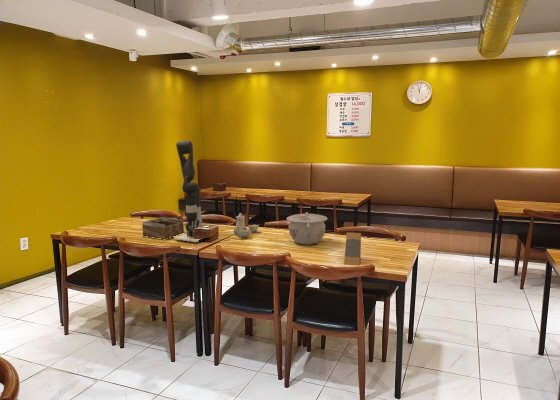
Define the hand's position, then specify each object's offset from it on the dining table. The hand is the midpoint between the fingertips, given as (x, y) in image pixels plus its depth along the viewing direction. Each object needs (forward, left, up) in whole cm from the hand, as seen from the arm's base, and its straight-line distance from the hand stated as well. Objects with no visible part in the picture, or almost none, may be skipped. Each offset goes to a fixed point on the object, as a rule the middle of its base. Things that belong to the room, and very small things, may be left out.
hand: (192, 235), depth 287 cm
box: (0, -28, -3) cm, 28 cm away
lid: (0, 0, -2) cm, 2 cm away
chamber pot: (-30, +74, -3) cm, 80 cm away
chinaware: (-29, +24, -4) cm, 38 cm away
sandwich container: (-4, +116, -4) cm, 116 cm away
